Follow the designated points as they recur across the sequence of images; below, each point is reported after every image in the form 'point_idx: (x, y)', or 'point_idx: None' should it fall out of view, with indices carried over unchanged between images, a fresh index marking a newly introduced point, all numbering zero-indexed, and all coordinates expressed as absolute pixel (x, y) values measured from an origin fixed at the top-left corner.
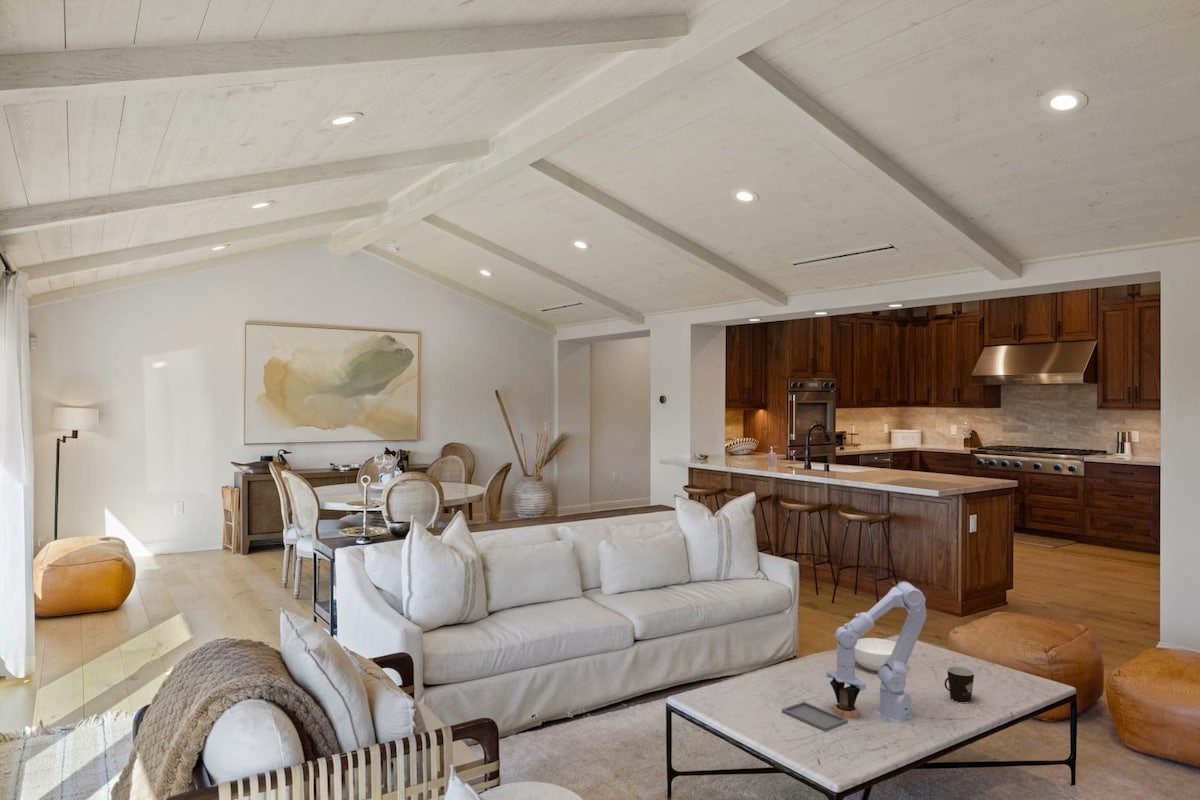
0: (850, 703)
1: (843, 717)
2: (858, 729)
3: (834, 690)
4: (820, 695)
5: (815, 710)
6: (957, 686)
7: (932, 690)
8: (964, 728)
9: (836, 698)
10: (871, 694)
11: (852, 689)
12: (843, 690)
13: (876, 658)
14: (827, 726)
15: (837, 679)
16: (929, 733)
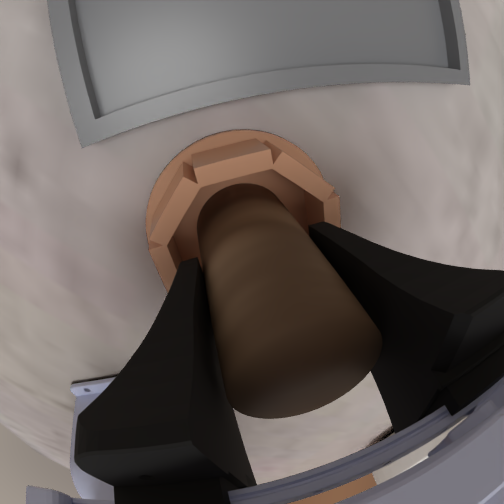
0: (170, 288)
1: (181, 165)
2: (11, 173)
3: (410, 262)
4: (461, 245)
5: (375, 58)
6: None
7: (271, 475)
8: (56, 456)
9: (346, 231)
10: (344, 400)
11: (76, 459)
12: (308, 351)
13: (413, 453)
14: None
15: (488, 495)
16: (8, 402)
